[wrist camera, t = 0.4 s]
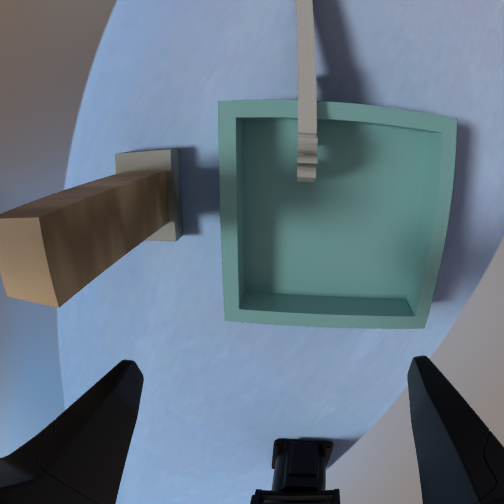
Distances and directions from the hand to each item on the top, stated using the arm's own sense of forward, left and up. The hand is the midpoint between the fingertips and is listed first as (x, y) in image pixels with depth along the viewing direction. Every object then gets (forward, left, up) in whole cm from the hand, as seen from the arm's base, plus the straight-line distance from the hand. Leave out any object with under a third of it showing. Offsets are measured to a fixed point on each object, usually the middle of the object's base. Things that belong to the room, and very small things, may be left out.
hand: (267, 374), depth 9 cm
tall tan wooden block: (+3, +10, -14) cm, 18 cm away
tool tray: (+2, -3, -14) cm, 15 cm away
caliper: (+14, -1, -15) cm, 21 cm away
